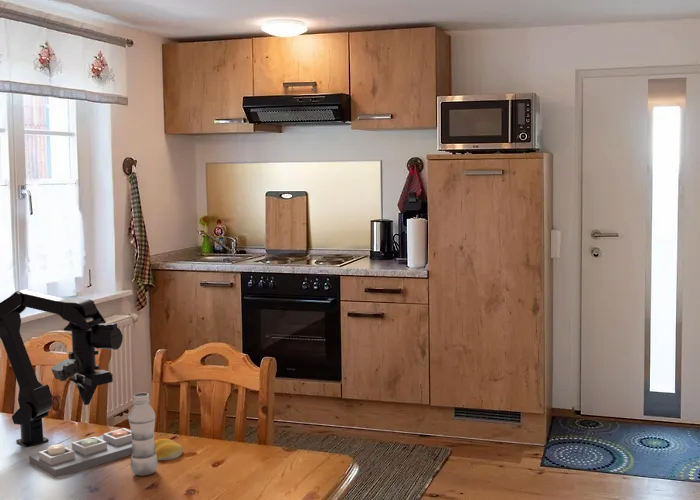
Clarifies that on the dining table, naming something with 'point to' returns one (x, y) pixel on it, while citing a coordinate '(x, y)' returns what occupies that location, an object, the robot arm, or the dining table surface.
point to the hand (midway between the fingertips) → (86, 404)
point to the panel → (84, 454)
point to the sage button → (88, 442)
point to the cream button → (56, 449)
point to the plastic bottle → (142, 436)
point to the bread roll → (167, 449)
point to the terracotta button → (119, 433)
